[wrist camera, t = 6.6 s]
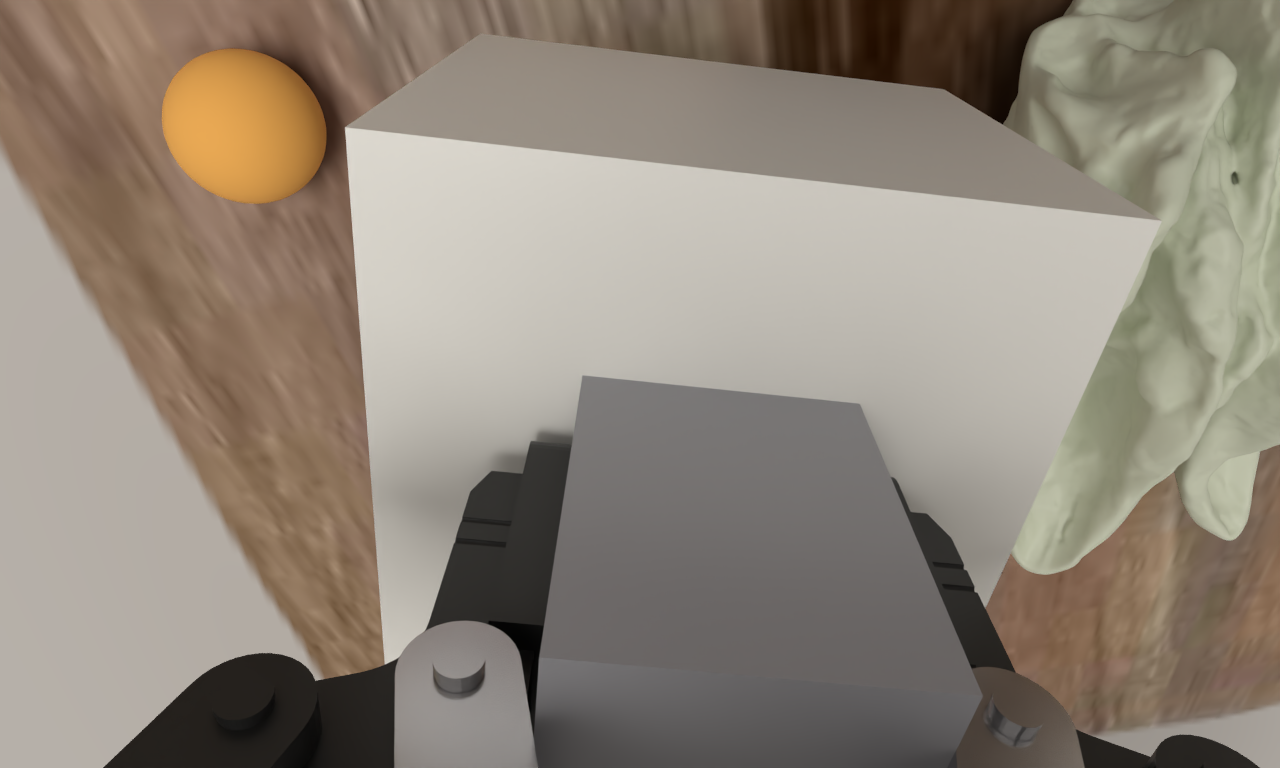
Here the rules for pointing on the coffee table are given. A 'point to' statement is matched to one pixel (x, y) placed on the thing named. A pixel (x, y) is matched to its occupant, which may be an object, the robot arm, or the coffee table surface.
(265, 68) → the ball
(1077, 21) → the wavy plaster lump
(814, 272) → the stacked blocks
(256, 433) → the coffee table surface
